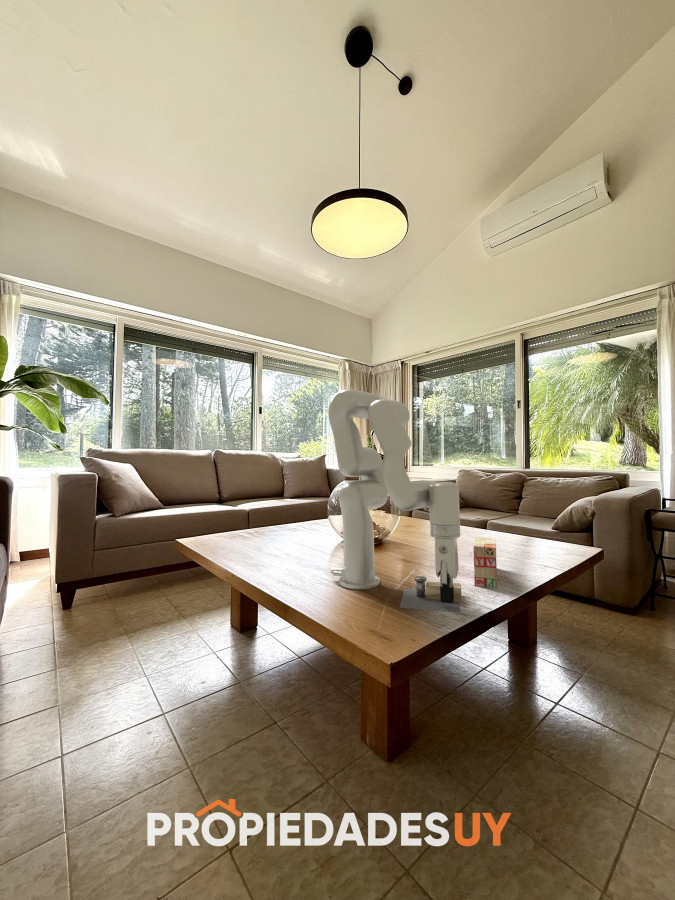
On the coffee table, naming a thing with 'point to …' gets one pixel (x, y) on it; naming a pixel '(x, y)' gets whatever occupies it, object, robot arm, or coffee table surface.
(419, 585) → the post
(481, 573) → the stack of blocks
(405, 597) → the mat
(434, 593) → the leg
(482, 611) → the coffee table surface
